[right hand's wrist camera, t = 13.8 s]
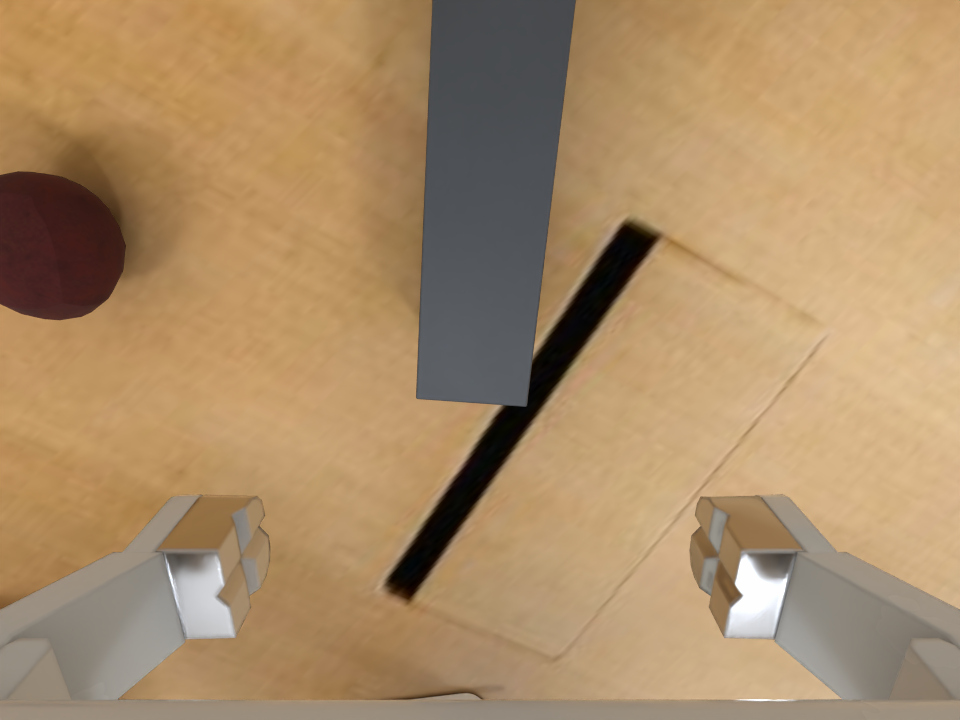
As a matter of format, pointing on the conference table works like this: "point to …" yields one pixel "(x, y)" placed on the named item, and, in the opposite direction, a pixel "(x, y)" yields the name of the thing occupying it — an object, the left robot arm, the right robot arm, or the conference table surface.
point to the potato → (56, 247)
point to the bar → (488, 192)
